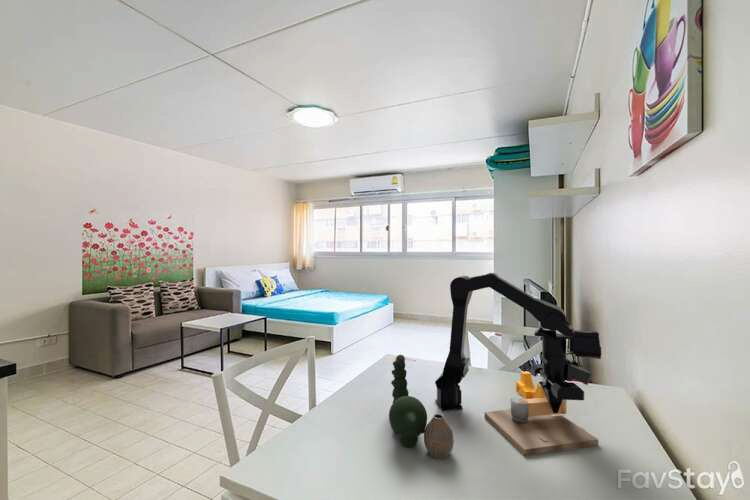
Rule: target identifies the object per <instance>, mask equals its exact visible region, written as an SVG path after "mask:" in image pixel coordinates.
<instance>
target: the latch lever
mask: <svg viewBox="0 0 750 500" xmlns="http://www.w3.org/2000/svg"><path fill="white" fill-rule="evenodd" d="M510 409H511V415H512V416H514V417H516V418H520V419H526V418H528V417H529V416H540V415H552V414H561V415H566V414H567V400H562V402H561V405H560V408H559V411H558V413H553V411H552V409H551V407H550V405H549V403H548V400H547V398H533V399H525V398H519V397H514V398H511V399H510Z"/></svg>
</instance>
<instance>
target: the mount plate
mask: <svg viewBox="0 0 750 500" xmlns="http://www.w3.org/2000/svg"><path fill="white" fill-rule="evenodd" d="M484 418H485V420H487V422H488V423H489V424H491V425H492V426H493V427H494V428H495V429H496V430H497V431H498V432H499V433H500V434H501V435H502V436H503V437H504V438H505V439H506V441H507V440H508V442H509V443H511V445H513V447H515V448H516V449H517V450H518V451H519V452H520V454H522V455H523V456H524V457H526V456H534V455H541V454H547V453H548V454H549V453H554V452H555V453H556V452H561V451H562V452H563V451H570V450H576V449H577V450H578V449H583V448H592V447H596V446H599V438H597V437H596V436H594V435H592V434H591V433H589V432H588V431H586V430H585V429H583V428H582V427H581V426H579V425H577V424H576V423H574V422H573V421H571V420H569V419H568V418H566V417H565V416H563V414H552V415H540V416H529V417H528V418H526V419H520V418H516V417H514V416H512V415H511V408H510V409H502V410H501V409H500V410H492V411H485V412H484Z"/></svg>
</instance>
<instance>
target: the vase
mask: <svg viewBox="0 0 750 500" xmlns="http://www.w3.org/2000/svg"><path fill="white" fill-rule="evenodd" d="M454 441H455V440H454V433H453V430H452V428H451V426H450V424H449V423H448V422H447V420H446V419H445V417H444V415H443V414H442V413H436V414H433V416H432V418H431V419H430V420H429V422H427V424H426V427H425V431H424V433H423V444H424V447H425V449H426V451H427V453H428V454H429V455H430V456H431V457H433V458H435V459H445V458H447V457H448V456H449V455H450V454H451V453H452V451H453V447H454Z"/></svg>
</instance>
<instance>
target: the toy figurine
mask: <svg viewBox="0 0 750 500" xmlns="http://www.w3.org/2000/svg"><path fill="white" fill-rule="evenodd" d="M392 365H393V370H391V374H392V376H393V380H391V383H390V384H391V386H392V387H393V390H392V393H391V395H392V398H393V401H392V404H391V406H390V407H389V410H388V411H389V413H388V420H389V424H390V427H391V431H393V433H394V434H395V435H397V436H399V441H400V444H401V445H402V446H404V447H407V448H408V447H409V448H410V447H415V446H416V445H417V444H418V442H419V440H418V437H419V436H420V435H421V434H422V435H424V431H425V428H426V426H427V424H428V412H427V410H426V407H425V406H424V404H423V403H422V402H421V400H420V399H418V398H416V397H414V396H411V395H410V394H409V390H408V388H407V387H408V381H407V379H406V377H407V370H406V358H405V356H404V354H398V355H397V356H396V358H395V360H394V361H393V362H392Z"/></svg>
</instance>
